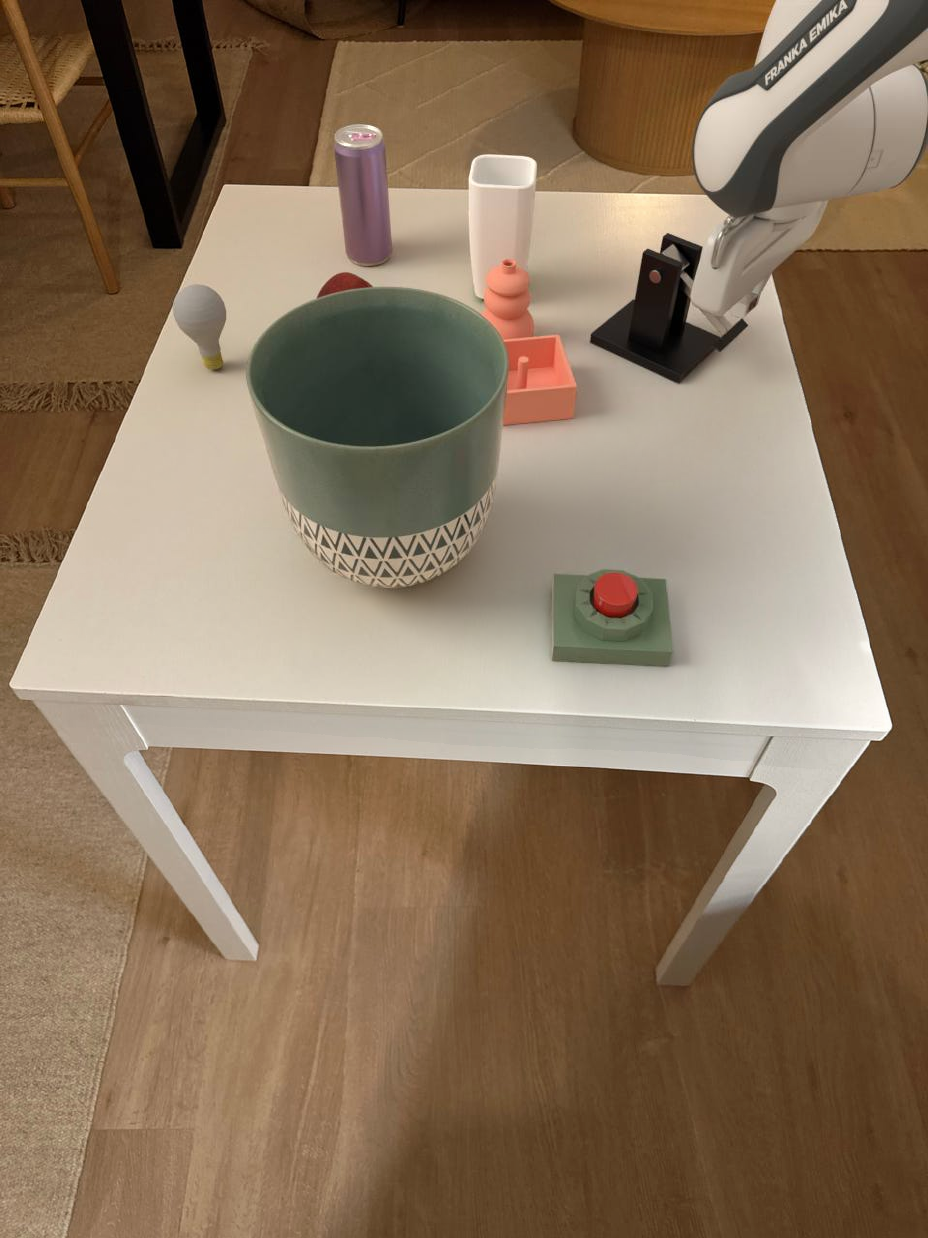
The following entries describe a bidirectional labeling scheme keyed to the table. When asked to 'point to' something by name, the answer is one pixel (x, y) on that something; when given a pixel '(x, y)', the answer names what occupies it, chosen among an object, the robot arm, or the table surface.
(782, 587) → the table surface
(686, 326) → the bracket
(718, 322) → the lever
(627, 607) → the button
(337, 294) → the planter
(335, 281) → the apple
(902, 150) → the robot arm
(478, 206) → the cup
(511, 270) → the pottery
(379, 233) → the beverage can
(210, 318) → the light bulb
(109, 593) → the table surface
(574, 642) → the control block
